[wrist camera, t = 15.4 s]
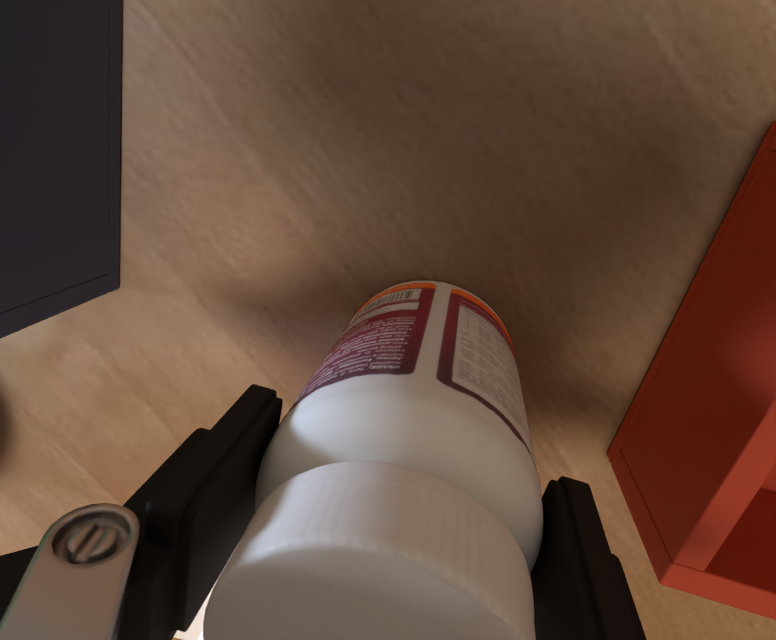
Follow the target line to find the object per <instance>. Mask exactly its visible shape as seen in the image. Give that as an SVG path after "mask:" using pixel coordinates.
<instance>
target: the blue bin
mask: <svg viewBox="0 0 776 640" xmlns="http://www.w3.org/2000/svg"><path fill="white" fill-rule="evenodd" d="M121 21H122V0H0V338H2V337H5V336H7V335H9V334H12V333H14V332H17V331H19V330H21V329H24V328H26V327H28V326H31V325H33V324H35V323H38V322H40V321H42V320H45V319H47V318H50V317H52V316H54V315H57V314H59V313H61V312H64V311H66V310H68V309H71V308H73V307H76V306H78V305H80V304H83V303H85V302H87V301H90V300H92V299H94V298H97V297H99V296H101V295H104V294H106V293H107V292H111V291H114V290H116V289H118V288H119V217H120V119H121Z"/></svg>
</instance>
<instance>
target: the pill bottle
mask: <svg viewBox="0 0 776 640" xmlns="http://www.w3.org/2000/svg"><path fill="white" fill-rule="evenodd" d="M255 508H256V513H255V515H254V516H253V518H252V519H251V521H250V523H249V524H248V526H247V528H246V530H245V532H244V534H243V536H242V539H241V541H240V542H239V544H238V546H237V548H236V549H235V551H234V553H233V554H232V556H231V558H230V560H229V561H228V563H227V565H226V566H225V568H224V570H223V571H222V573H221V575H220V577H219V579H218V580H217V582H216V584H215V586H214V588H213V590H212V592H211V595H210V598H209V600H208V603H207V606H206V609H205V615H204V621H203V639H204V640H536V636H535V626H534V601H533V592H532V584H531V578H530V573H531V571H532V569H533V567H534V565H535V563H536V560H537V557H538V554H539V551H540V547H541V541H542V535H543V505H542V498H541V486H540V482H539V477H538V473H537V470H536V464H535V459H534V454H533V448H532V443H531V437H530V432H529V427H528V422H527V416H526V411H525V406H524V401H523V396H522V390H521V384H520V378H519V373H518V367H517V362H516V357H515V353H514V348H513V344H512V341H511V339H510V336H509V334H508V332H507V330H506V328H505V326H504V324H503V322H502V321H501V319H500V318H499V317H498V315H497V314H496V313H495V312H494V310H493V309H492V308H491V307H490V306H488V305H487V304H486V303H485V302H484V301H483V300H481V299H480V298H479V297H477V296H475V295H474V294H472V293H471V292H469V291H467V290H464V289H462V288H460V287H457V286H455V285H451V284H448V283H444V282H437V281H410V282H404V283H401V284H398V285H394V286H392V287H390V288H387V289H385V290H383V291H382V292H380V293H378V294H377V295H375V296H374V297H372V298H371V299H370V300H369V301H367V302H366V303H365V304H364V305H363V306H362V307H361V308H360V309H359V310H358V311H357V313H356V314H355V315H354V317H353V318H352V320H351V321H350V322H349V324H348V325H347V326H346V328H345V329H344V330H343V332H342V334H341V335H340V337H339V338H338V340H337V341H336V343H335V344H334V346H333V348H332V349H331V350H330V352H329V353H328V355H327V356H326V358H325V359H324V360H323V362H322V363H321V365H320V366H319V367H318V369H317V370H316V371H315V373H314V374H313V376H312V377H311V379H310V380H309V382H308V383H307V385H306V386H305V388H304V389H303V391H302V392H301V394H300V395H299V397H298V398H297V400H296V401H295V403H294V405H293V406H292V408H291V409H290V410H289V412H288V413H287V414H286V415H285V417H284V418H283V420H282V421H281V423H280V425H279V426H278V428H277V430H276V431H275V432H274V435H273V437H272V439H271V441H270V443H269V445H268V447H267V449H266V451H265V453H264V456H263V458H262V461H261V464H260V468H259V471H258V476H257V481H256V488H255Z"/></svg>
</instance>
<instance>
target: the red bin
mask: <svg viewBox="0 0 776 640" xmlns="http://www.w3.org/2000/svg"><path fill="white" fill-rule="evenodd" d="M607 456H608V458H609V461H610V463H611V466H612V468H613V471H614V473H615V476H616V478H617V481H618V483H619V485H620V488H621V490H622V493H623V495H624V498H625V500H626V503H627V505H628V508H629V510H630V512H631V515H632V517H633V520H634V522H635V525H636V527H637V530H638V532H639V535H640V537H641V540H642V542H643V544H644V547H645V549H646V552H647V554H648V557H649V559H650V562H651V564H652V567H653V569H654V571H655V574H656V576H657V579H658V581H659V583H660V584H662V585H665V586H668V587H671V588H675V589H678V590H681V591H684V592H688V593H691V594H694V595H697V596H700V597H704V598H707V599H710V600H713V601H717V602H720V603H723V604H726V605H729V606H733V607H736V608H739V609H742V610H746V611H749V612H752V613H755V614H759V615H762V616H765V617H768V618H771V619H775V620H776V121H773V123H772V124H771V126H770V128H769V130H768V132H767V134H766V136H765V138H764V140H763V142H762V144H761V146H760V148H759V150H758V152H757V154H756V156H755V158H754V160H753V162H752V164H751V166H750V168H749V170H748V172H747V174H746V176H745V178H744V180H743V182H742V184H741V186H740V188H739V190H738V192H737V194H736V196H735V198H734V200H733V202H732V204H731V206H730V208H729V210H728V212H727V214H726V216H725V218H724V220H723V222H722V224H721V226H720V228H719V230H718V232H717V234H716V236H715V239H714V241H713V243H712V245H711V247H710V249H709V251H708V253H707V255H706V257H705V259H704V261H703V263H702V265H701V267H700V269H699V271H698V273H697V275H696V277H695V279H694V281H693V283H692V285H691V287H690V289H689V291H688V293H687V295H686V297H685V299H684V301H683V303H682V305H681V307H680V309H679V311H678V313H677V315H676V317H675V319H674V321H673V323H672V325H671V327H670V329H669V331H668V333H667V335H666V337H665V339H664V341H663V343H662V345H661V347H660V349H659V351H658V353H657V355H656V357H655V359H654V361H653V363H652V365H651V367H650V369H649V371H648V373H647V375H646V377H645V379H644V381H643V383H642V385H641V387H640V389H639V391H638V393H637V395H636V397H635V399H634V401H633V403H632V405H631V407H630V409H629V411H628V413H627V415H626V417H625V419H624V421H623V423H622V425H621V427H620V429H619V431H618V433H617V435H616V437H615V439H614V441H613V443H612V445H611V447H610V449H609V451H608V453H607Z"/></svg>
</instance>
